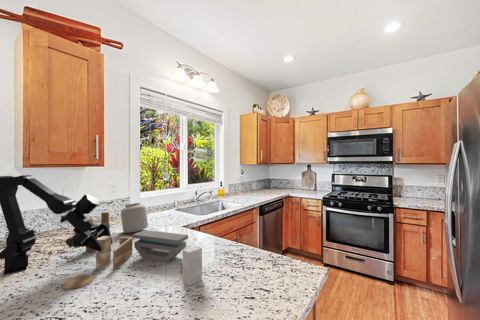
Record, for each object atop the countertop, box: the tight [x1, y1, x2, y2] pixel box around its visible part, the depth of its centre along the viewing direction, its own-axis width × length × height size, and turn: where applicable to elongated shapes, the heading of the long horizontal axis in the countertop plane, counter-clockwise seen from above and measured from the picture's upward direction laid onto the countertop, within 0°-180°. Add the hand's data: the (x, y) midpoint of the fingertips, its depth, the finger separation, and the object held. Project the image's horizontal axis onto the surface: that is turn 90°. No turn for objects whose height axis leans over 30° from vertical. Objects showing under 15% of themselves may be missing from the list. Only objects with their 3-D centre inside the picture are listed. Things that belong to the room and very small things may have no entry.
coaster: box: [61, 274, 94, 291], centre depth 80 cm, size 9×9×1 cm
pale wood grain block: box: [95, 235, 112, 270], centre depth 94 cm, size 4×5×12 cm
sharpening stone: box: [132, 229, 189, 264], centre depth 102 cm, size 25×8×11 cm, turn 71°
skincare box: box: [182, 245, 203, 287], centre depth 82 cm, size 6×4×12 cm
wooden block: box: [85, 211, 110, 253], centre depth 114 cm, size 4×11×18 cm, turn 158°
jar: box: [120, 202, 149, 234], centre depth 143 cm, size 19×15×25 cm
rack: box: [112, 236, 134, 271], centre depth 99 cm, size 6×17×8 cm, turn 4°
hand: (106, 247), depth 94 cm, fingers open, 9 cm apart
